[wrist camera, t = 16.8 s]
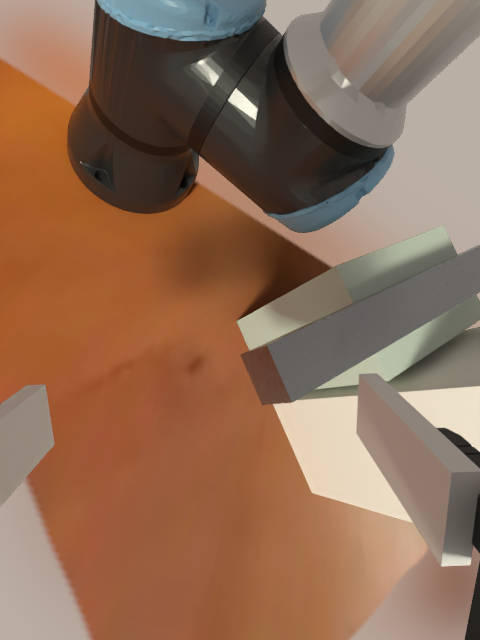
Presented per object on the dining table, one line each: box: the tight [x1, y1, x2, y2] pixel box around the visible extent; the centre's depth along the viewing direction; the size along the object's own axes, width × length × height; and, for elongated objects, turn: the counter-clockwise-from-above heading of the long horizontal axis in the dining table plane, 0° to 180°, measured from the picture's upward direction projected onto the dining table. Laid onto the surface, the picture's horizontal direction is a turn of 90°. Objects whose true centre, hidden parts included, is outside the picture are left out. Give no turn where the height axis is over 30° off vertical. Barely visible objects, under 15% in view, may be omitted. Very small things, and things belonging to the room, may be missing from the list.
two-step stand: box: [237, 226, 480, 523], centre depth 36 cm, size 16×23×30 cm
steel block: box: [241, 245, 480, 405], centre depth 29 cm, size 30×4×4 cm, turn 116°
